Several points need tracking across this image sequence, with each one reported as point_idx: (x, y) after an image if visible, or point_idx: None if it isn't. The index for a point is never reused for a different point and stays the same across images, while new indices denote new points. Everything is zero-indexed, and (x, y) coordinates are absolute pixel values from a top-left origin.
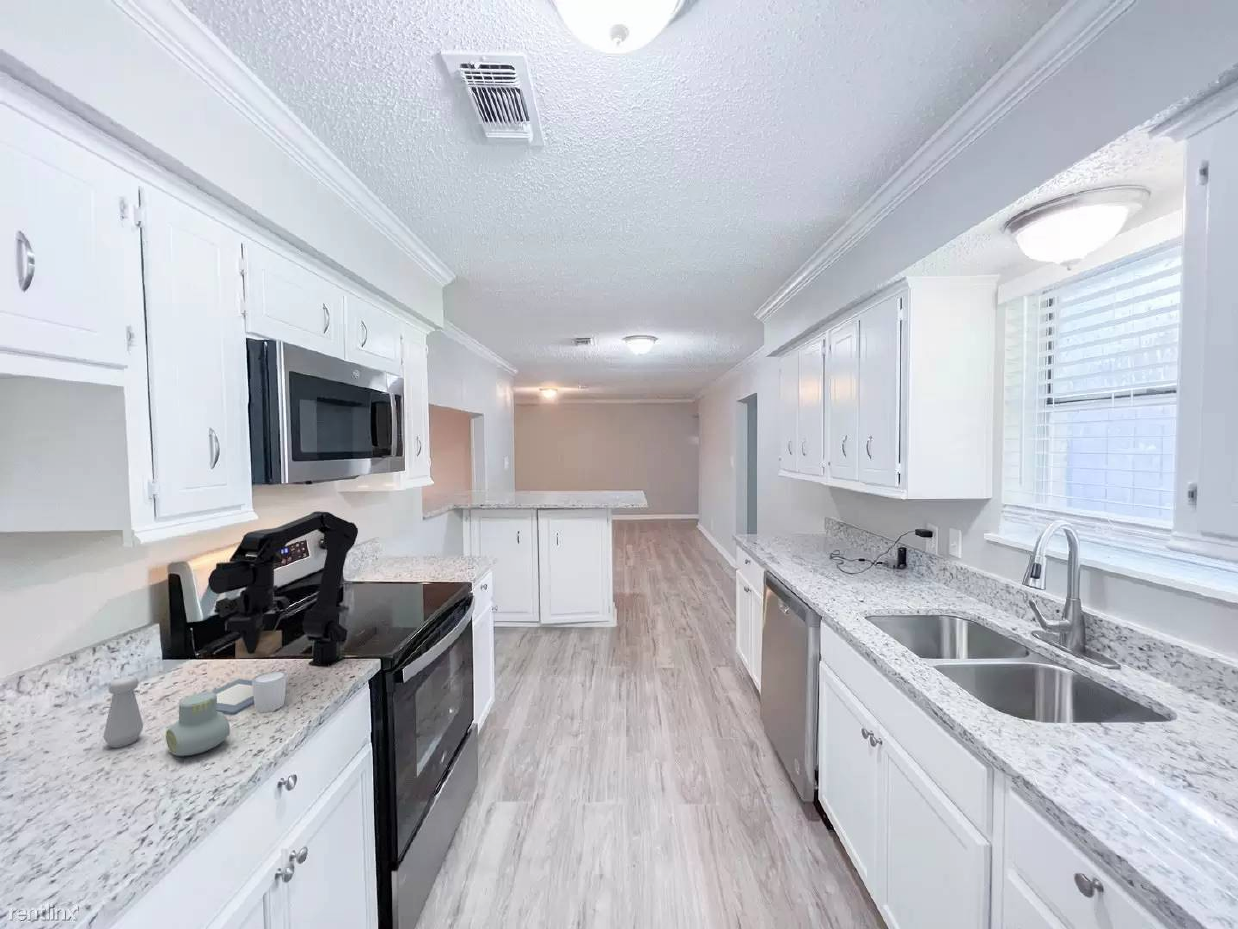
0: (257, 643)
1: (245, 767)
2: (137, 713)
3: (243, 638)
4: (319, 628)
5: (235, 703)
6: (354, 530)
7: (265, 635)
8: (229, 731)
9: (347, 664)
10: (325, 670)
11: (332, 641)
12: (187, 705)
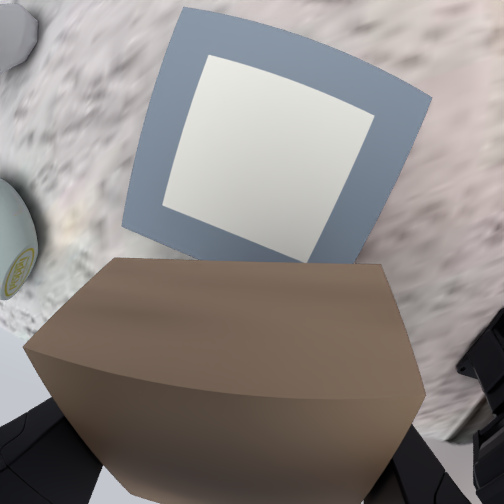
0: None
1: (9, 324)
2: None
3: (6, 431)
4: (491, 475)
5: (172, 202)
6: None
7: (221, 499)
8: (14, 294)
9: (448, 400)
10: (432, 368)
11: (474, 441)
12: None
